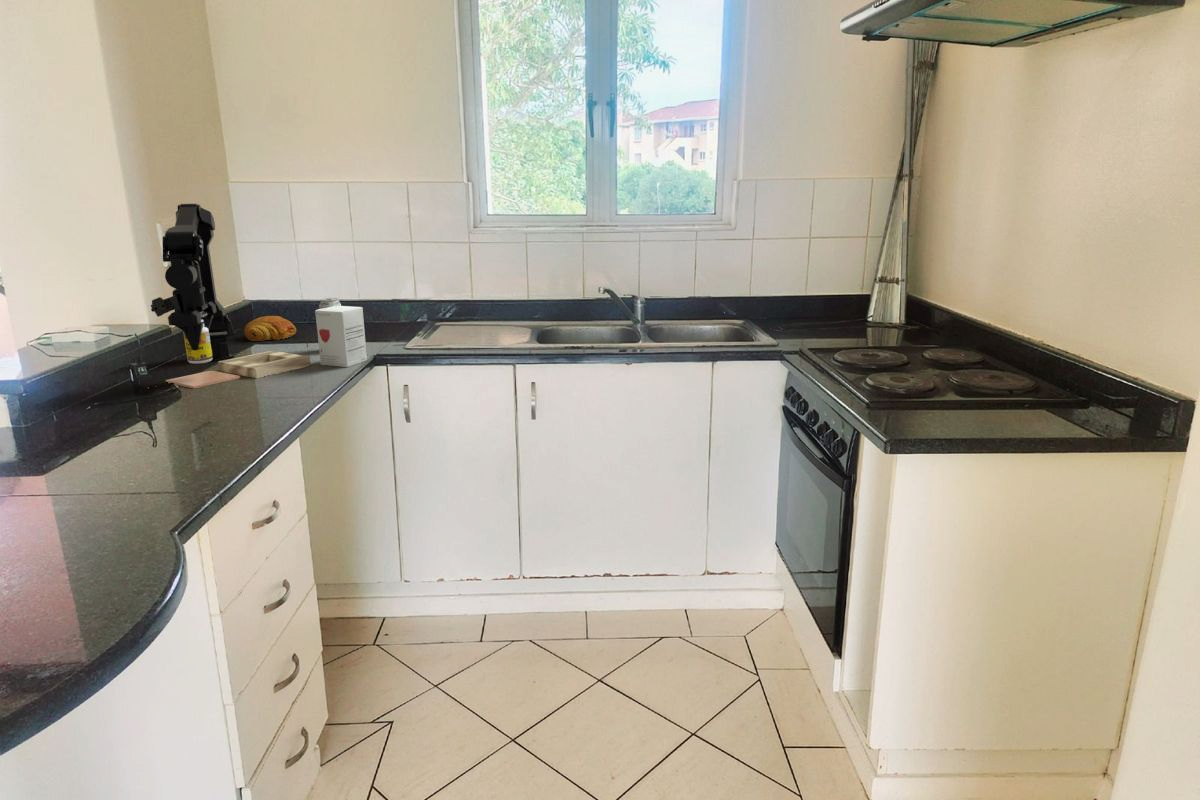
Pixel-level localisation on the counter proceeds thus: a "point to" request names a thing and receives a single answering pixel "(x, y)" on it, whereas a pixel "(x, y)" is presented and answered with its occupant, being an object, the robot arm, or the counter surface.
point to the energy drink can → (329, 303)
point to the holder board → (264, 364)
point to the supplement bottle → (200, 348)
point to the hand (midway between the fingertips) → (198, 347)
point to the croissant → (269, 328)
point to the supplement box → (341, 335)
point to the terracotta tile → (203, 379)
